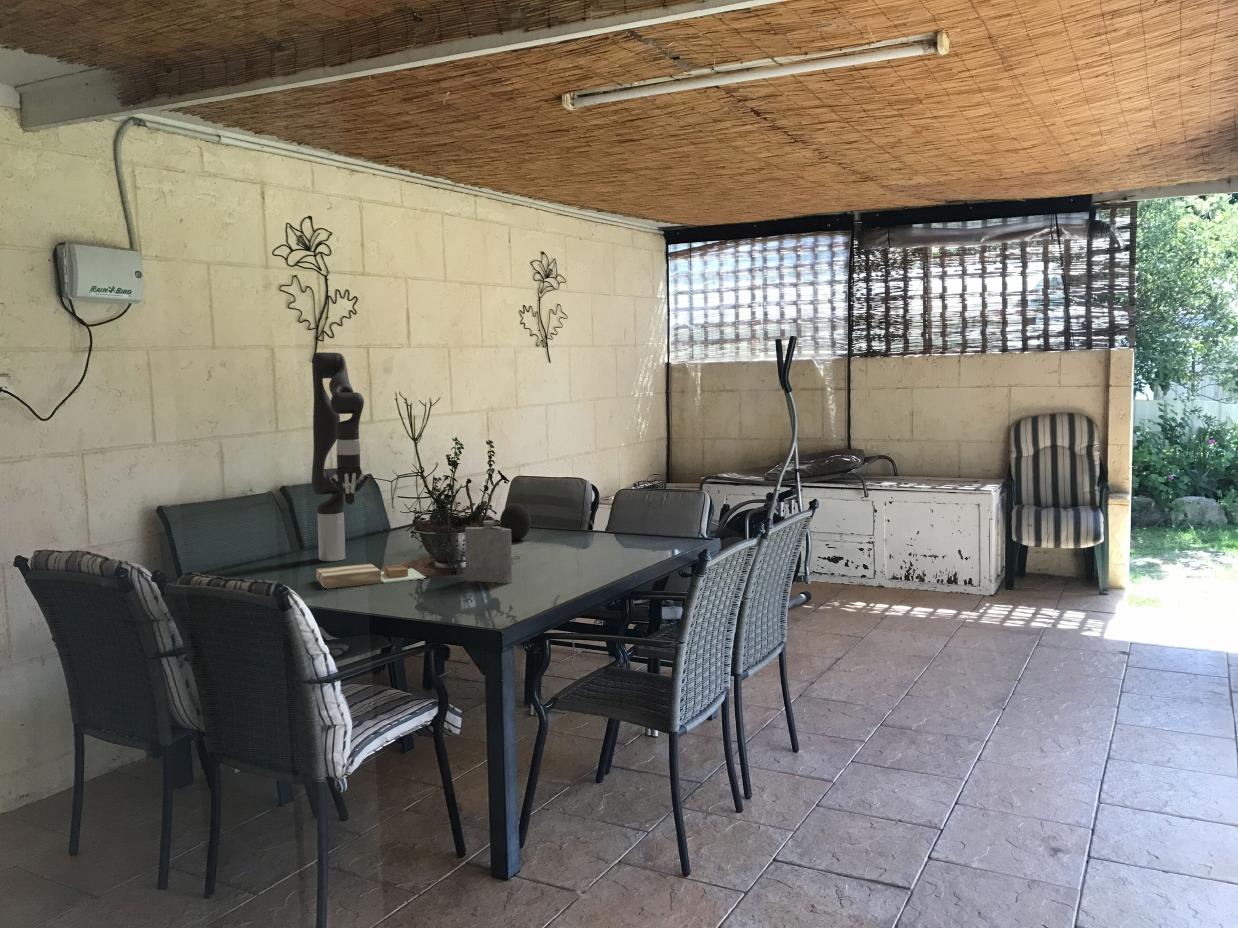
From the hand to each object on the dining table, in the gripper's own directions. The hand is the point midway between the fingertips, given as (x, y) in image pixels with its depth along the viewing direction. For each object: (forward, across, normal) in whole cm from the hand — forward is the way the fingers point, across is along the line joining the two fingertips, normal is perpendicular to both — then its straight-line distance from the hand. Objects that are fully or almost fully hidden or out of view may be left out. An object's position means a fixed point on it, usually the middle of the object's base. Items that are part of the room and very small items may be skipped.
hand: (349, 504), depth 329 cm
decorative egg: (+25, -74, -34) cm, 85 cm away
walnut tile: (+22, -13, +9) cm, 27 cm away
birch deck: (+24, +3, +9) cm, 26 cm away
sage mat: (+24, -14, +9) cm, 29 cm away
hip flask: (+24, -38, +31) cm, 54 cm away
